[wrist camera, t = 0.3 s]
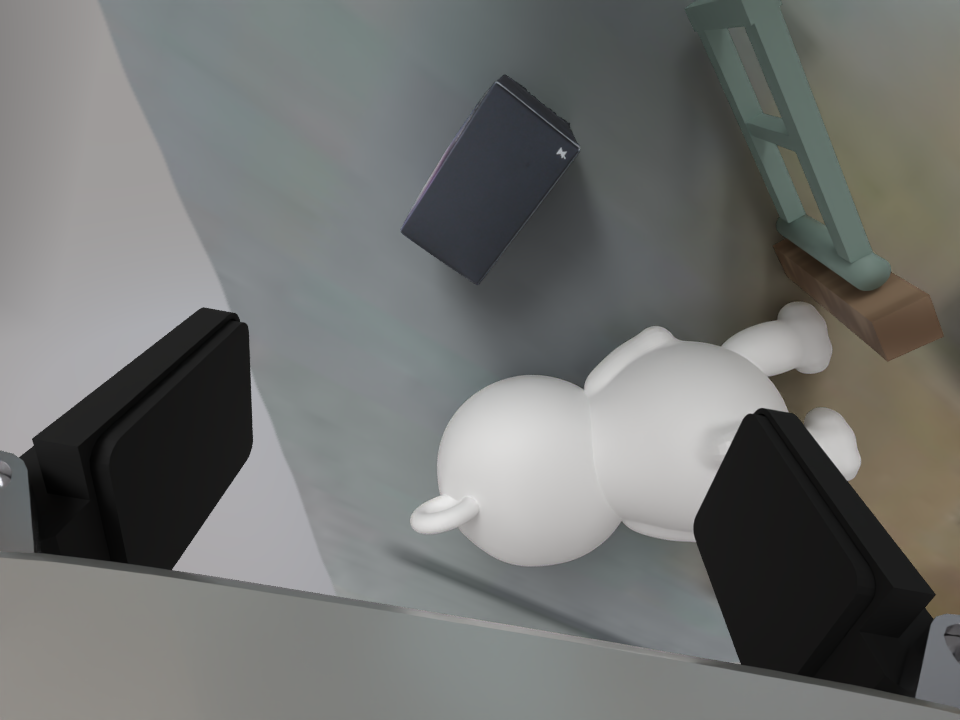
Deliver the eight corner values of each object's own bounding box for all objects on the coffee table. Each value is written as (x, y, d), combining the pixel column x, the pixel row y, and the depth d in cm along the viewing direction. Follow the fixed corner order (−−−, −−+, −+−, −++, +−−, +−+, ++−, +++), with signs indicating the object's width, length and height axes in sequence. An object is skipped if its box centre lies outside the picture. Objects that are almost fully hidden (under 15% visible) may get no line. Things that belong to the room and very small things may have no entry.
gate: (808, 226, 41) (895, 279, 32) (781, 240, 42) (859, 296, 32) (708, -10, 35) (780, -33, 25) (678, 12, 35) (737, -3, 26)
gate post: (772, 245, 43) (871, 322, 31) (811, 224, 42) (929, 295, 30) (786, 276, 44) (887, 361, 32) (824, 256, 43) (943, 336, 31)
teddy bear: (817, 467, 52) (463, 555, 56) (769, 284, 51) (412, 386, 55) (977, 554, 33) (430, 677, 37) (906, 268, 32) (351, 424, 36)
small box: (500, 67, 38) (494, 72, 29) (573, 125, 40) (588, 147, 31) (420, 193, 43) (393, 231, 34) (488, 241, 45) (480, 290, 35)
